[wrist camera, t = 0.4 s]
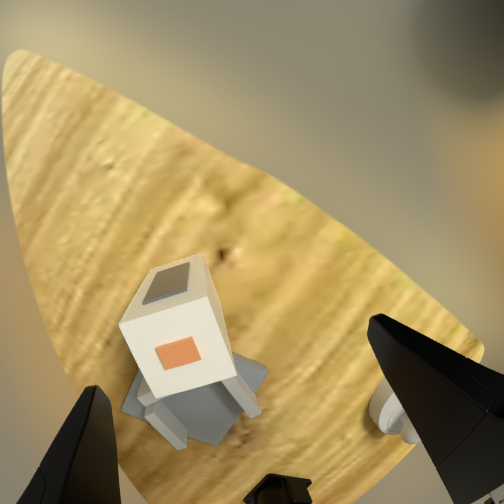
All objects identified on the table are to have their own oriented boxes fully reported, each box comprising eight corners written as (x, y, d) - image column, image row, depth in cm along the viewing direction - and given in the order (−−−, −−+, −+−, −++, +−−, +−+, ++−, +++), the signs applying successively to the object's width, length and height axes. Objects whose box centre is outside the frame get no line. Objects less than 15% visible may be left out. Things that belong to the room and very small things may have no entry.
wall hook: (495, 396, 22) (441, 470, 23) (444, 360, 32) (402, 425, 33) (459, 387, 20) (394, 474, 21) (402, 344, 30) (354, 419, 31)
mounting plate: (218, 439, 28) (222, 467, 24) (122, 403, 26) (114, 431, 22) (268, 365, 27) (280, 391, 23) (162, 319, 25) (156, 341, 21)
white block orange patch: (220, 303, 25) (237, 377, 15) (169, 319, 25) (155, 401, 14) (202, 250, 24) (206, 294, 14) (149, 267, 24) (115, 323, 13)
